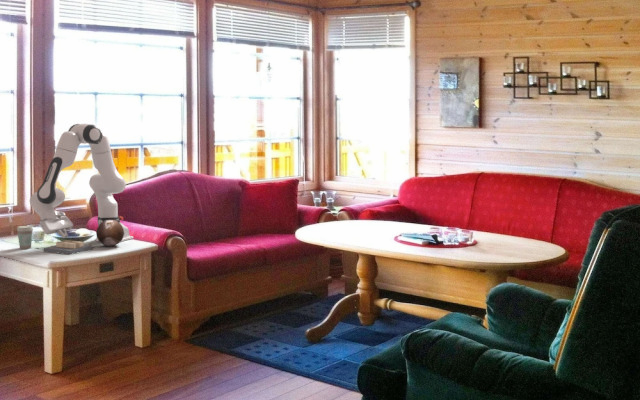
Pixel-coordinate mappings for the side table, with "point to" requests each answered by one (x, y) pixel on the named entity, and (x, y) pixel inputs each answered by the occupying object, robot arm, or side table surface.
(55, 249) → the board
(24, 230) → the coffee cup
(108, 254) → the side table surface
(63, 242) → the plaque
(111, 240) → the wooden sphere
